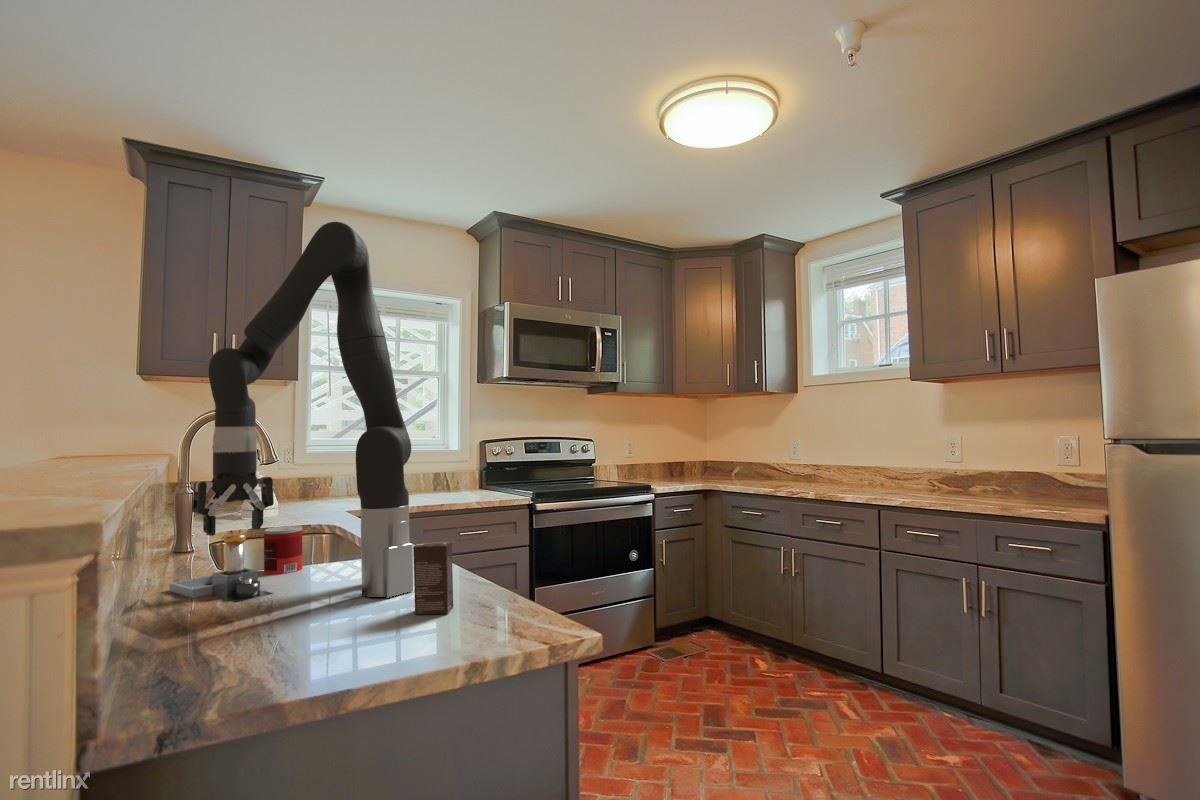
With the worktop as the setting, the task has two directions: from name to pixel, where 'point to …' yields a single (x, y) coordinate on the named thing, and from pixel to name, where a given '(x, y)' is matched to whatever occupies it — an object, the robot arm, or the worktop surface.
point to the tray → (186, 585)
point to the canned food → (282, 550)
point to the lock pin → (234, 553)
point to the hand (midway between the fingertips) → (234, 532)
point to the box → (433, 578)
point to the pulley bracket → (237, 586)
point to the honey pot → (268, 510)
